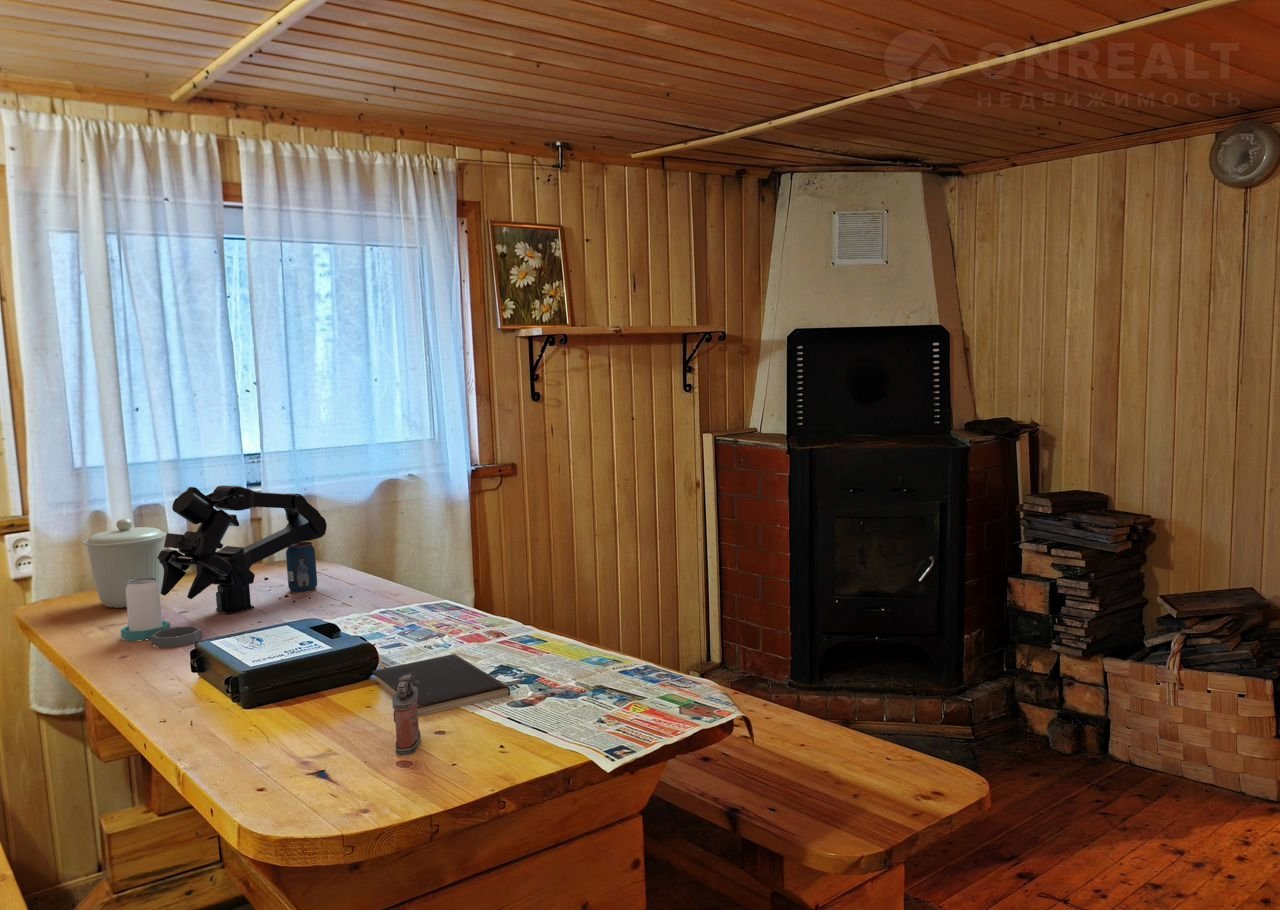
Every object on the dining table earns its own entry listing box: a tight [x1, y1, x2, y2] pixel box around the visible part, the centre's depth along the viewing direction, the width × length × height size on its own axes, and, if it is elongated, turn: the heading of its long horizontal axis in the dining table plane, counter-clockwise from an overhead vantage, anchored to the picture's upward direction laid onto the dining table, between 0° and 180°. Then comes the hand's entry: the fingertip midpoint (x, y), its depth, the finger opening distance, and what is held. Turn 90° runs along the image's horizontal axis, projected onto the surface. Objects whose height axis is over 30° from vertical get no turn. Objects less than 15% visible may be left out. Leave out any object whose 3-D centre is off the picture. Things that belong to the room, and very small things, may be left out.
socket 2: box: [151, 625, 203, 649], centre depth 207 cm, size 9×9×2 cm
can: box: [126, 578, 163, 631], centre depth 213 cm, size 6×6×12 cm
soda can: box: [285, 541, 318, 594], centre depth 250 cm, size 7×7×12 cm
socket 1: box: [120, 619, 171, 642], centre depth 213 cm, size 9×9×2 cm
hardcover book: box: [372, 653, 511, 717], centre depth 170 cm, size 16×23×2 cm
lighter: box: [392, 675, 422, 757], centre depth 145 cm, size 8×3×10 cm, turn 5°
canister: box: [83, 518, 167, 609], centre depth 243 cm, size 18×18×21 cm
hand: (175, 596), depth 219 cm, fingers open, 9 cm apart
